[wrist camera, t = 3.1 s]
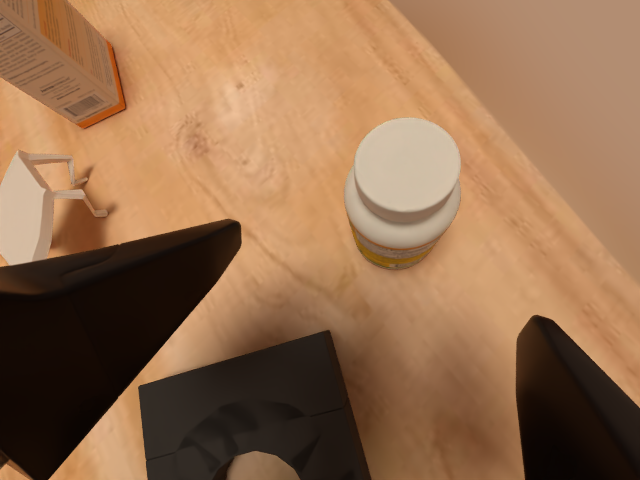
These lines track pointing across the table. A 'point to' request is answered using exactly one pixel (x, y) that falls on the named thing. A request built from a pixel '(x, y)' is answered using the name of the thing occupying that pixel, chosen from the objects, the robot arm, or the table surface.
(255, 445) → the docking pad
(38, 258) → the white flat legged piece
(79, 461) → the table surface
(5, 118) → the table surface
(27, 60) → the supplement box
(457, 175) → the supplement bottle
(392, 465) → the table surface
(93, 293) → the robot arm
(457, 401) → the table surface
